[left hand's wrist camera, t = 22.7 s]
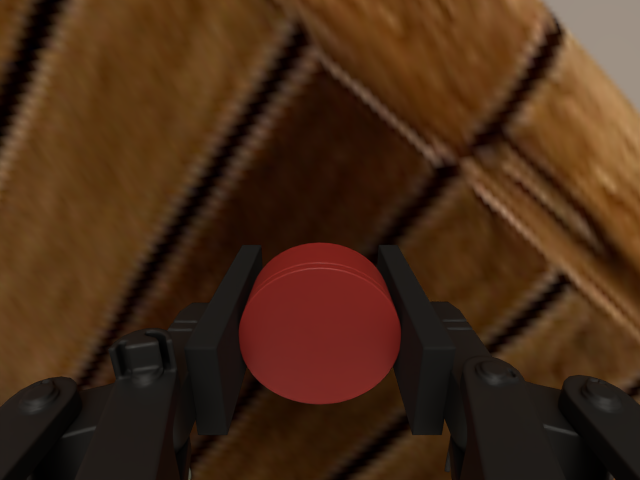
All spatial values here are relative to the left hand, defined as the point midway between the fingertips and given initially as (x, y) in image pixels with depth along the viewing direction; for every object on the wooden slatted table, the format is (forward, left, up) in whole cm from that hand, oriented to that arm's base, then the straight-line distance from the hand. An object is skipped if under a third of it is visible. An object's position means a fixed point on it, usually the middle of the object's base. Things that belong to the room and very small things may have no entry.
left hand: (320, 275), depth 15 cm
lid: (0, 0, +4) cm, 4 cm away
